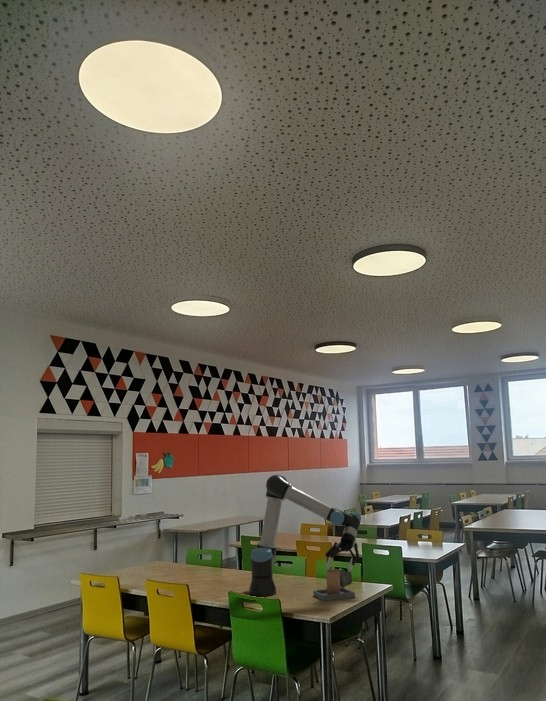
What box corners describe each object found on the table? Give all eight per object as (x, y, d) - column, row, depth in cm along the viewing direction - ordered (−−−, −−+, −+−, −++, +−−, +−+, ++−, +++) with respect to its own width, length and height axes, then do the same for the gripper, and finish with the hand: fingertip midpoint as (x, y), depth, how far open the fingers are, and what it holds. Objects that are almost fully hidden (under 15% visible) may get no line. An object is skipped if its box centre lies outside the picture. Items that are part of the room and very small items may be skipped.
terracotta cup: (325, 594, 297) (323, 569, 300) (337, 593, 299) (335, 568, 302) (330, 596, 291) (329, 571, 294) (342, 595, 293) (341, 570, 296)
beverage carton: (327, 587, 319) (326, 575, 321) (340, 581, 336) (339, 570, 337) (340, 588, 316) (339, 576, 317) (352, 582, 332) (351, 570, 334)
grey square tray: (313, 595, 299) (313, 590, 300) (343, 592, 304) (343, 587, 305) (323, 600, 286) (323, 595, 286) (355, 597, 291) (354, 592, 291)
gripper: (371, 541, 312) (361, 574, 297) (331, 540, 325) (320, 571, 310) (366, 532, 309) (356, 565, 293) (326, 531, 322) (315, 563, 307)
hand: (338, 569), depth 302 cm, fingers open, 13 cm apart
